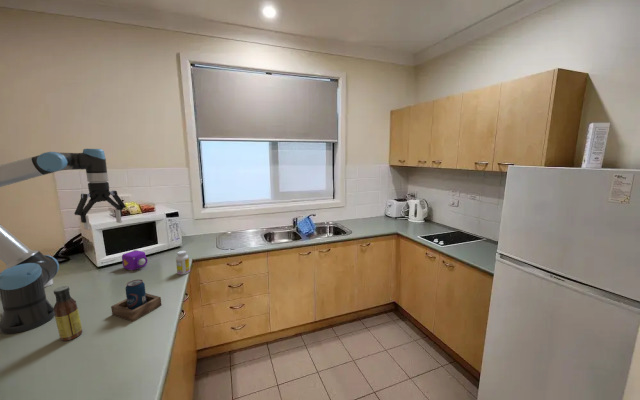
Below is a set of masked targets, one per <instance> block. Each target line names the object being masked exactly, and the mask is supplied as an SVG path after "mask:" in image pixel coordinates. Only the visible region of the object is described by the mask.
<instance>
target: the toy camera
mask: <svg viewBox="0 0 640 400" xmlns="http://www.w3.org/2000/svg"><path fill="white" fill-rule="evenodd" d="M121 259H122V261H121V263H122V267H123V268H124V269H125V270H129V271H135V270H138V269H140V267H141V268H143V267H145V266H146V265H147V263H148V257H147V256H146V253H145V251H141V250H138V249H133V251H129V252H126V253H123V254H121ZM137 268H138V269H137Z"/></svg>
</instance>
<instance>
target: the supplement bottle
mask: <svg viewBox="0 0 640 400" xmlns="http://www.w3.org/2000/svg"><path fill="white" fill-rule="evenodd" d="M176 254H177V256H176V258H175V262H176V263H175V264H176V273H177V275H182V276H183V275H186V274H189V272H191V268H190V259H189V255H188V254H187V251H186V250H180V251H177V253H176Z"/></svg>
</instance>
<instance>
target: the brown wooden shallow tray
mask: <svg viewBox="0 0 640 400" xmlns="http://www.w3.org/2000/svg"><path fill="white" fill-rule="evenodd" d="M146 301H147V303H145V304H143V305H141V306H139V307H138V308H136V309H134V310H131V309H128V306H127V298H125V299H124V300H121V301H119V302H116V304H113V305H111V306H110V308H111V315H112V316H115V317H117V318H121V319H124V320H127V321H130V322H135V321H136V320H138V319H139V318H141V316H142V317H144V316H145V315H147V314H148V313H150V312H152V311H154V310H155V309H157V308H159V307H161V306H162V298H161V296H158V295H154V294H150V293H147V292H146Z"/></svg>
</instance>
